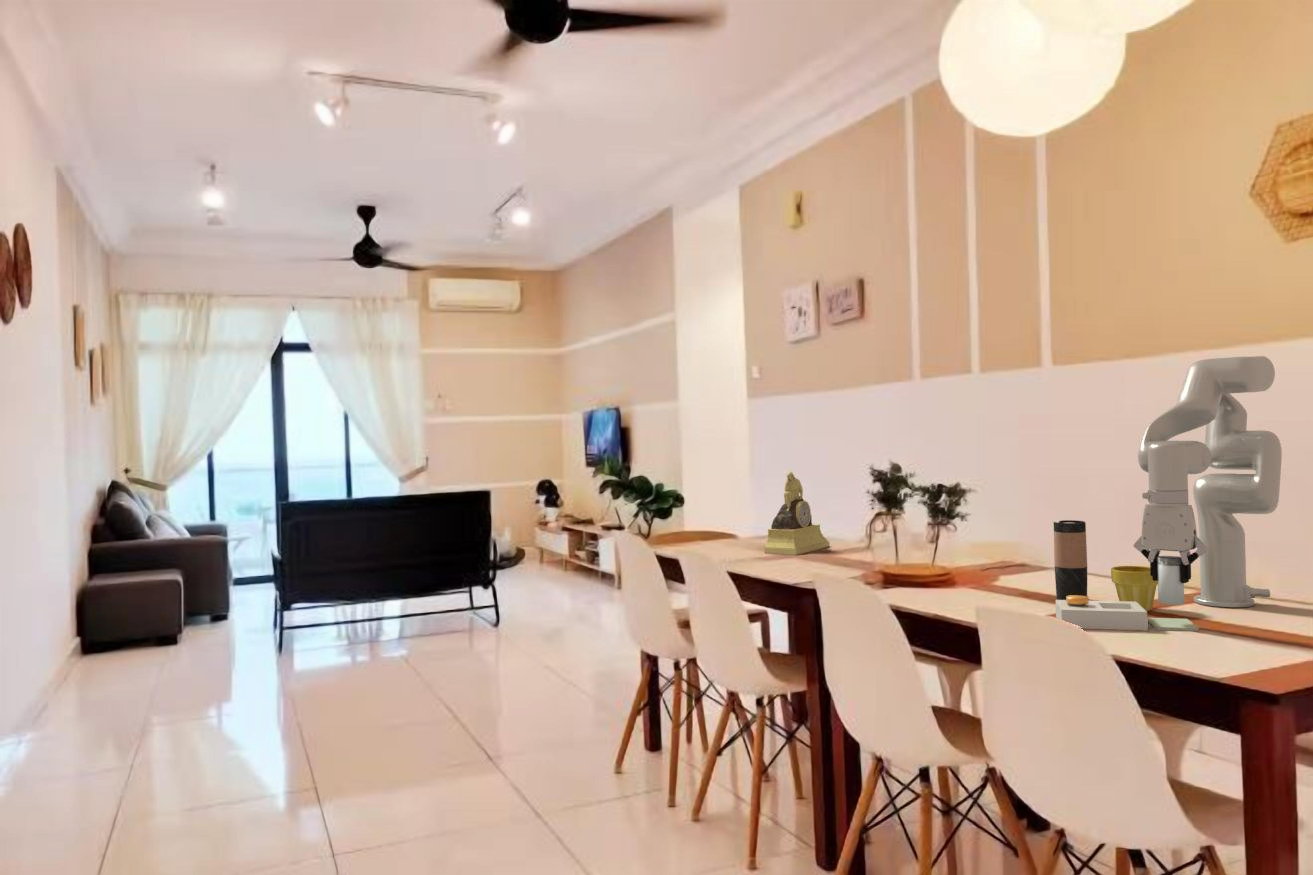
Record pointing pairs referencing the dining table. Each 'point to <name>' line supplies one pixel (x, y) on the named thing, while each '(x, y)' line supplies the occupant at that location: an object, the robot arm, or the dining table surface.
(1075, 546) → the travel mug
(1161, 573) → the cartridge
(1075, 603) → the plunger
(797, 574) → the dining table surface
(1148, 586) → the plant pot
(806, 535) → the decorative clock
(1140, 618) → the housing
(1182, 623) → the mat
